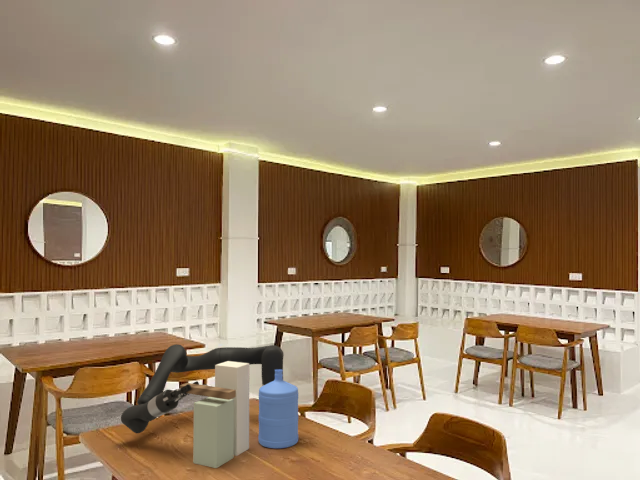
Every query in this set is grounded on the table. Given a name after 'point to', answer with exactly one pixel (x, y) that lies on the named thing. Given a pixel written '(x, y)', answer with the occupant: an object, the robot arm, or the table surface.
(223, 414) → the sage step
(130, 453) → the table surface
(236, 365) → the off-white stand
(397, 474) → the table surface
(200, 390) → the walnut plank
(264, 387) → the water jug
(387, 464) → the table surface
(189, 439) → the table surface
